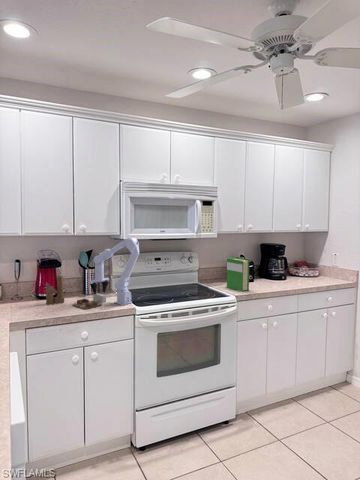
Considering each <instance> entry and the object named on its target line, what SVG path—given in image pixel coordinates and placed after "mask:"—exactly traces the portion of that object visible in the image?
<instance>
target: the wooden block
mask: <svg viewBox="0 0 360 480" xmlns="http://www.w3.org/2000/svg"><path fill="white" fill-rule="evenodd" d="M56 277H57V290H56V289H55V288H54V287H53V286H51V285H50V284H49V283H48V282H45V293H46V294H45V295H46V296H45V303H46V305H48V306H50V305H54V304H55V305H57V304H64V303H65V297H64V275H61V274H59V275H57V276H56ZM54 294H57V296H55V297H54Z"/></svg>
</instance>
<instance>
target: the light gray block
mask: <svg viewBox="0 0 360 480" xmlns="http://www.w3.org/2000/svg"><path fill="white" fill-rule="evenodd" d="M92 295H93V296H92V301H95V302H98V304H105V302H106V303H107V295H106V294H102V293H99V292H96V294H93V293H92Z"/></svg>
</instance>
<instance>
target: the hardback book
mask: <svg viewBox="0 0 360 480" xmlns="http://www.w3.org/2000/svg"><path fill="white" fill-rule="evenodd" d="M226 289H230V290H232V291H233V290H234V291H237V292H241V293H242V292H244V291H248V292H249V291H250V260H249V259H244V258H238V257H227V258H226Z"/></svg>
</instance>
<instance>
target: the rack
mask: <svg viewBox="0 0 360 480" xmlns="http://www.w3.org/2000/svg"><path fill="white" fill-rule="evenodd" d="M72 306H73V307H76V308H79V309H82V310H85V311H86V310H91V309H95V308H99V307H102V306H103V303H99V302H96V301H93V300H92V301H91V300H89V299H88V298H82V299H81V298H80V299H76V303H72Z"/></svg>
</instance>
